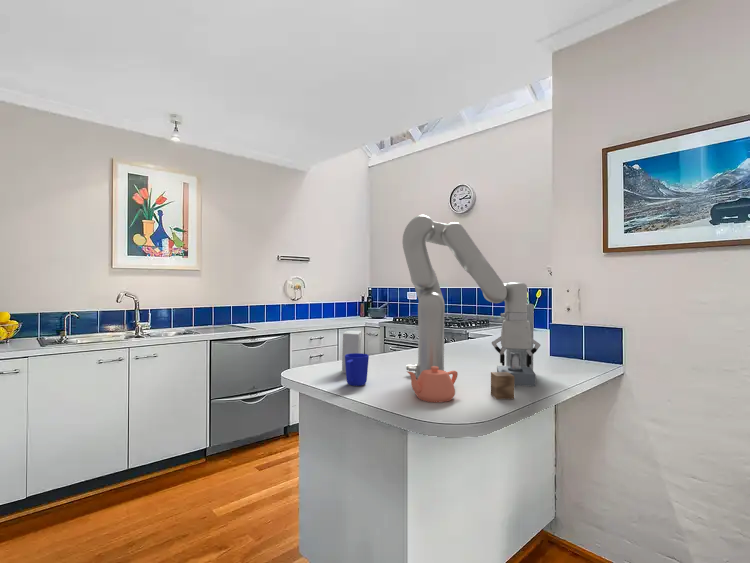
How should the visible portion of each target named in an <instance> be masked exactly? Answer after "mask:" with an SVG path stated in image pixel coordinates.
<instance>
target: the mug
mask: <svg viewBox="0 0 750 563" xmlns="http://www.w3.org/2000/svg"><path fill="white" fill-rule="evenodd" d="M369 355H370V354H367V353H363V352H361V353H352V354H346V355H345V365H346V373H345V377H346V378H345V379H346V383H347V385H348V386H352V387H360V386H364V385H366V384H367V381H368V371H369V370H368V369H369V359H370V356H369Z"/></svg>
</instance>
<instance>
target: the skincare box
mask: <svg viewBox="0 0 750 563" xmlns="http://www.w3.org/2000/svg"><path fill="white" fill-rule="evenodd" d="M362 334H363V333H362V330H345V331H344V332H343V333H342V351H341V352H342V360H341V361H342V362H341V364H342V365H341V373H342V374H346V365H345V355H346V354H352V353H362V338H363V337H362Z"/></svg>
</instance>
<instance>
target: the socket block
mask: <svg viewBox="0 0 750 563" xmlns="http://www.w3.org/2000/svg"><path fill="white" fill-rule="evenodd" d="M496 372H509V373H510V374H512V375H513V376H514V386H523V387H524V386H525V387H536V384H537V380H536V379H537V378H536V377H537V376H536V375H537V374H536V372H535V371H534V369H533V370H532V368H530V367H520V372H517V371H510V366H506V365H505V366H502V365H497V367H496Z"/></svg>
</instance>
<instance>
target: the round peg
mask: <svg viewBox="0 0 750 563" xmlns="http://www.w3.org/2000/svg"><path fill="white" fill-rule="evenodd" d="M520 366H521V354H520V353H510V371H517V372H520Z"/></svg>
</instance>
